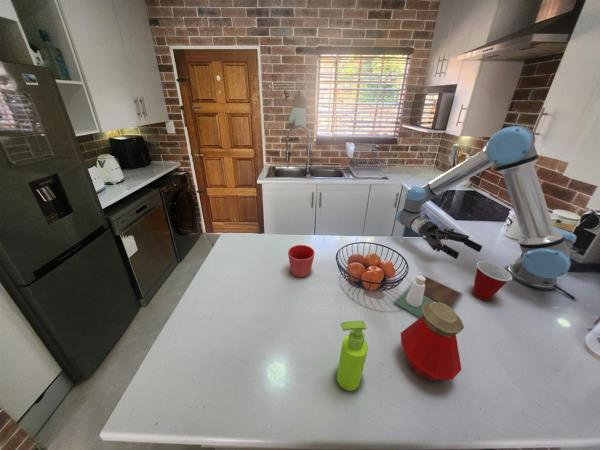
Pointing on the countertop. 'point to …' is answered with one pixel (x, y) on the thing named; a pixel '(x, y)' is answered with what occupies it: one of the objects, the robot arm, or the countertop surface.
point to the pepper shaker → (416, 292)
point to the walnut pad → (440, 292)
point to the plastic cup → (489, 280)
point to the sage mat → (413, 310)
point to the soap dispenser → (352, 355)
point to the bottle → (433, 343)
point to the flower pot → (301, 260)
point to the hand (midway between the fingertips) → (469, 252)
